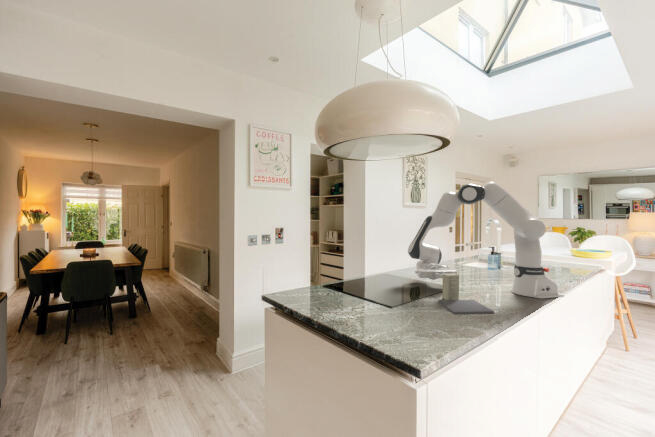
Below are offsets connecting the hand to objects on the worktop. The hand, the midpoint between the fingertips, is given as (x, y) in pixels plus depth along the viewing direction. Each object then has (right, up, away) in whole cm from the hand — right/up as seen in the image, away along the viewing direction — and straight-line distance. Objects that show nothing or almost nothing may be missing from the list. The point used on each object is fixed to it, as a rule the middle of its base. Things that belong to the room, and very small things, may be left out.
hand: (442, 276), depth 152 cm
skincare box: (0, -9, -9) cm, 13 cm away
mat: (+1, -10, -20) cm, 23 cm away
